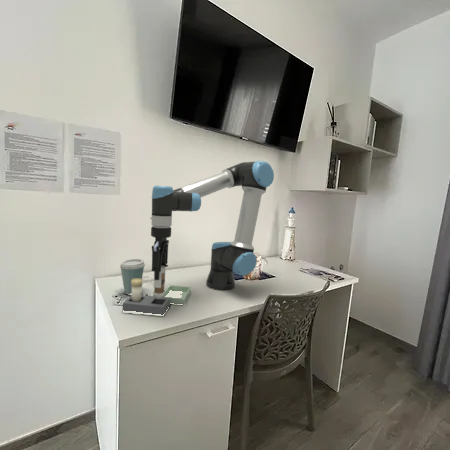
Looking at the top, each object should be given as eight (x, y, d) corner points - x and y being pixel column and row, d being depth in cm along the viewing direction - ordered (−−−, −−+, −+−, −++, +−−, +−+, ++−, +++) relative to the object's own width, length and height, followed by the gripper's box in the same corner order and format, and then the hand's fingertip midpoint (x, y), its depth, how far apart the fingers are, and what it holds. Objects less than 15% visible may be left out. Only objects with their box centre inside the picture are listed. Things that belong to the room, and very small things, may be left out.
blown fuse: (165, 294, 106) (166, 265, 104) (162, 298, 102) (163, 269, 100) (155, 293, 106) (156, 265, 104) (152, 297, 102) (152, 268, 100)
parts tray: (190, 293, 125) (191, 287, 124) (183, 306, 110) (184, 299, 110) (169, 290, 126) (169, 284, 125) (159, 303, 111) (159, 296, 111)
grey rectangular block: (169, 307, 109) (170, 297, 108) (163, 317, 100) (163, 307, 99) (132, 303, 110) (132, 294, 109) (122, 312, 101) (122, 303, 100)
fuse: (143, 307, 107) (144, 278, 106) (139, 311, 103) (140, 282, 101) (133, 306, 107) (134, 277, 106) (128, 310, 103) (129, 281, 102)
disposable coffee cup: (129, 299, 113) (130, 265, 111) (114, 293, 119) (114, 260, 117) (148, 292, 122) (150, 261, 120) (133, 286, 128) (134, 256, 126)
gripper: (159, 223, 109) (157, 277, 112) (143, 228, 92) (141, 292, 95) (176, 224, 108) (174, 278, 111) (163, 230, 91) (161, 294, 94)
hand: (159, 284), depth 103 cm, fingers closed on blown fuse, 4 cm apart
